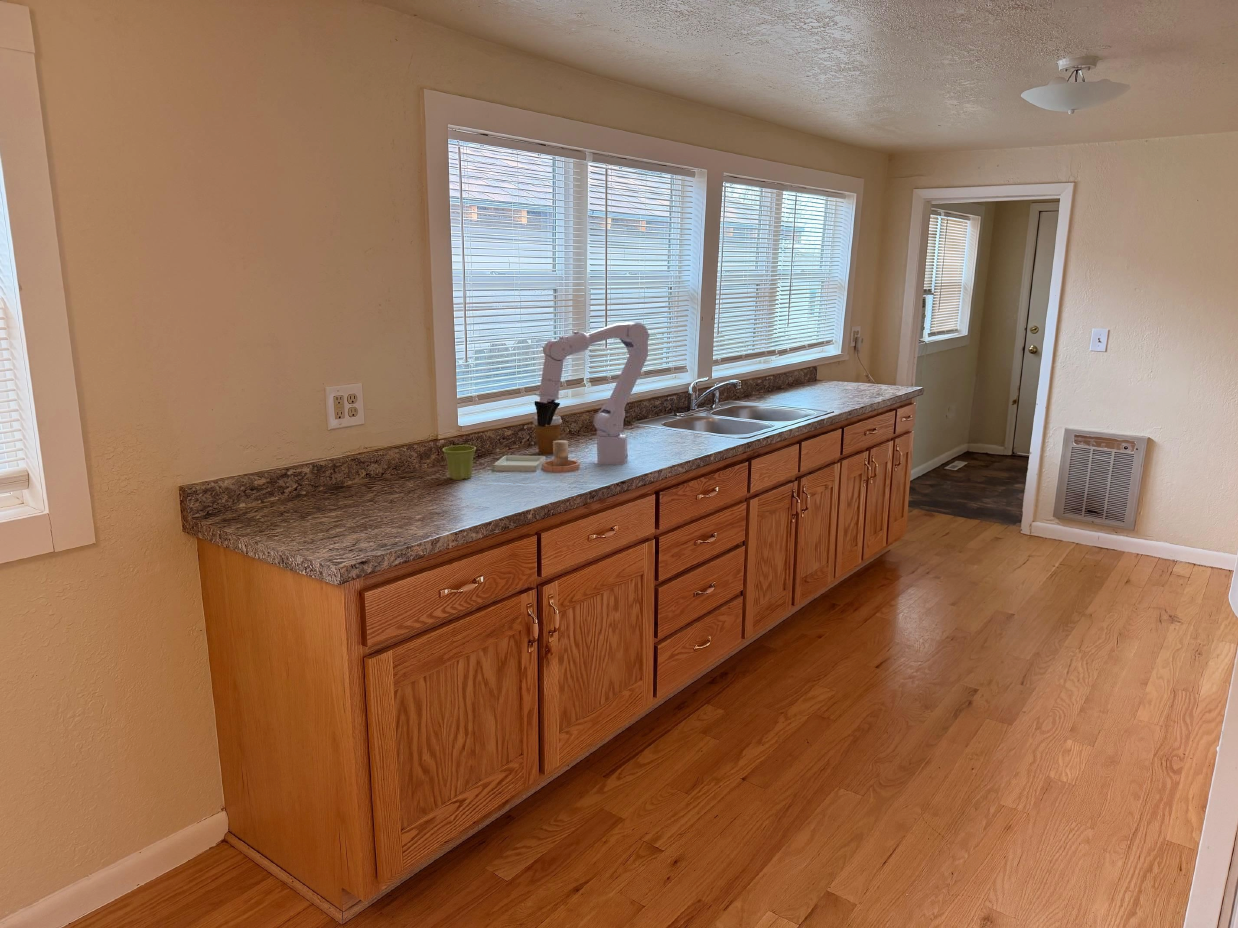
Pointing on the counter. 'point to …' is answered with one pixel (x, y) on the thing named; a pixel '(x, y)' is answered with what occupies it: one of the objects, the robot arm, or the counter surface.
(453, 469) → the plant pot
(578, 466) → the terracotta dish
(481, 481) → the counter surface
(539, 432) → the disposable coffee cup
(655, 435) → the counter surface
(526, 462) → the grey green tray
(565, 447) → the birch cylinder
